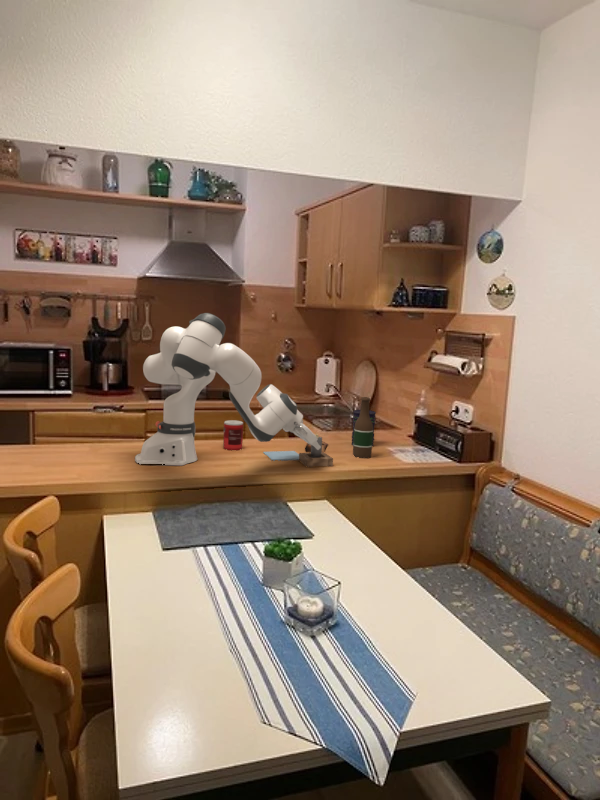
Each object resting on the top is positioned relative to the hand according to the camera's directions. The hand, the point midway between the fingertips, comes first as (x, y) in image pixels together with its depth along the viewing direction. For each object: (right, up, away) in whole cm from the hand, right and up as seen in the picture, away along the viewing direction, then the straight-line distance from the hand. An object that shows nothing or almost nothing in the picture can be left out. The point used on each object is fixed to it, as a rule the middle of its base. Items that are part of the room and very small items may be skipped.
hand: (314, 445), depth 230 cm
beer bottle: (+19, -6, +17) cm, 27 cm away
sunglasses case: (+2, -4, +28) cm, 29 cm away
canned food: (-33, -3, +20) cm, 39 cm away
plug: (0, -7, +2) cm, 7 cm away
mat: (-12, -5, +11) cm, 17 cm away
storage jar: (+22, -3, +39) cm, 45 cm away
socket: (0, -7, +2) cm, 7 cm away
